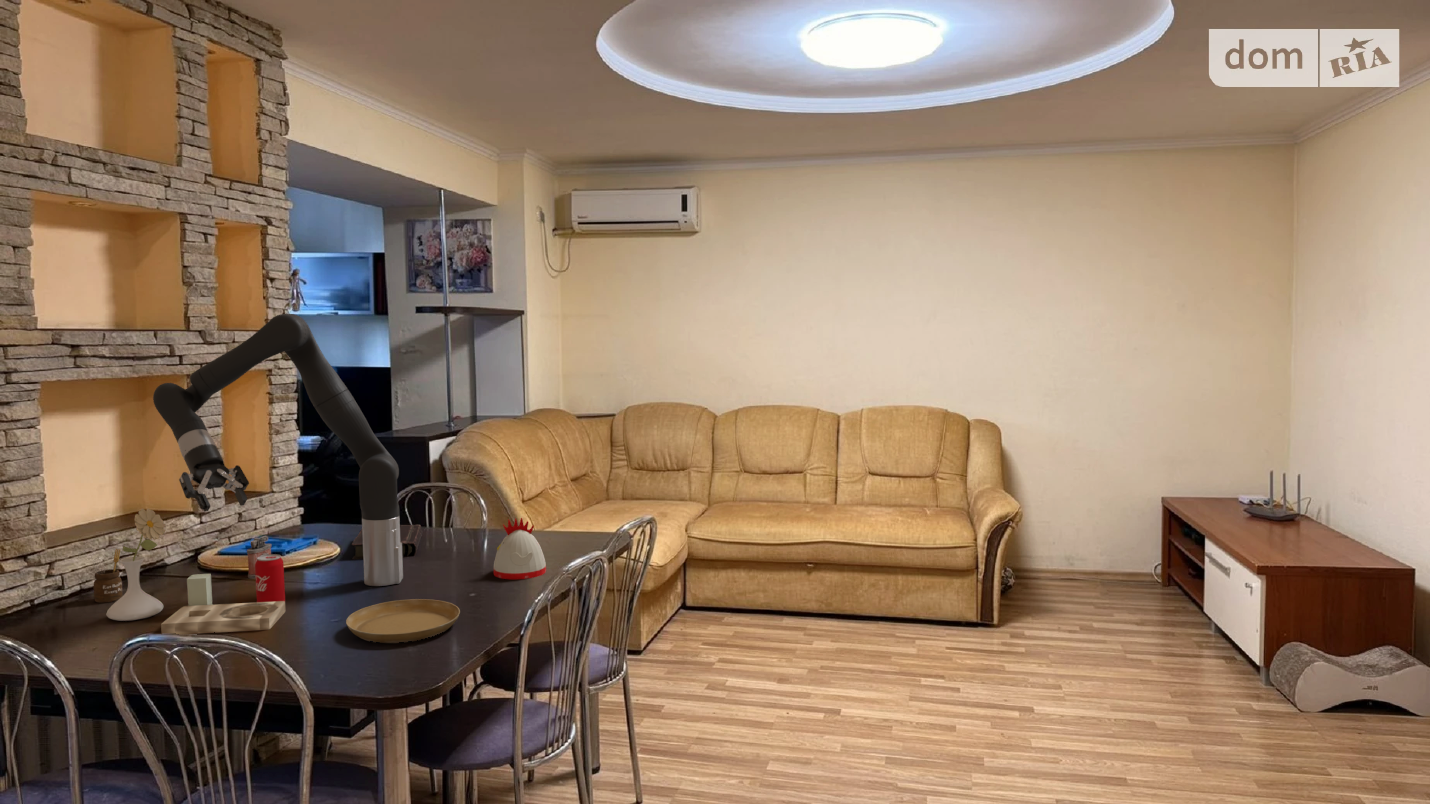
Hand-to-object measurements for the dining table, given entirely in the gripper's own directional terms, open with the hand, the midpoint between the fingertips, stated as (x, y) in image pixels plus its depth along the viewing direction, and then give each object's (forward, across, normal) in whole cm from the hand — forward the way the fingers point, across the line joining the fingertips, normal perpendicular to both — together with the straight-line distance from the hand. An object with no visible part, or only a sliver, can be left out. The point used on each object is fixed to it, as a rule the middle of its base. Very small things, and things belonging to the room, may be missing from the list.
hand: (226, 506), depth 228 cm
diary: (+4, +58, +33) cm, 67 cm away
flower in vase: (+11, -16, +25) cm, 31 cm away
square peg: (+17, -6, +18) cm, 25 cm away
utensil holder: (-3, -14, +40) cm, 42 cm away
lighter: (+2, +20, +34) cm, 40 cm away
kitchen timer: (+40, +62, -7) cm, 74 cm away
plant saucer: (+50, +15, -17) cm, 55 cm away
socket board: (+26, -7, +8) cm, 28 cm away
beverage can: (+23, +6, +12) cm, 26 cm away
